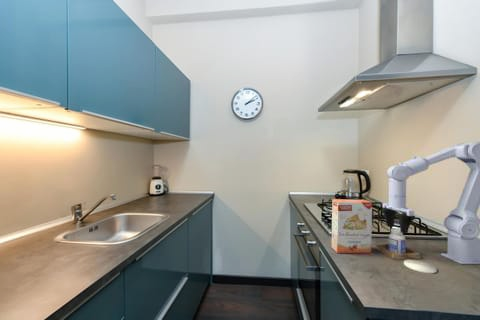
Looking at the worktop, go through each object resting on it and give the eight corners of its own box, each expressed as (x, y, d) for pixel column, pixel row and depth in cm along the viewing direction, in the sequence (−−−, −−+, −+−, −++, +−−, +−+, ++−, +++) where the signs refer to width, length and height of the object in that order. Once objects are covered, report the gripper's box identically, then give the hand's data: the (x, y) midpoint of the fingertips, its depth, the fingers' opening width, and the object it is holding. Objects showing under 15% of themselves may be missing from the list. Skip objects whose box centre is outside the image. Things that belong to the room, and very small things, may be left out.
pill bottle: (401, 251, 91) (401, 228, 91) (407, 257, 86) (407, 232, 86) (386, 250, 93) (386, 227, 93) (391, 255, 87) (391, 231, 87)
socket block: (399, 248, 95) (399, 243, 95) (420, 259, 84) (420, 254, 84) (375, 248, 94) (375, 243, 94) (393, 259, 84) (393, 254, 84)
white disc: (421, 261, 83) (421, 259, 83) (444, 273, 74) (444, 271, 74) (397, 261, 83) (397, 259, 83) (417, 273, 74) (417, 271, 74)
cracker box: (337, 254, 89) (337, 201, 89) (331, 248, 95) (331, 198, 95) (372, 254, 89) (372, 201, 89) (363, 248, 95) (364, 198, 95)
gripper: (375, 192, 96) (375, 224, 96) (401, 198, 82) (400, 235, 82) (391, 192, 97) (391, 224, 97) (419, 198, 82) (419, 235, 82)
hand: (396, 229), depth 89 cm, fingers open, 7 cm apart
